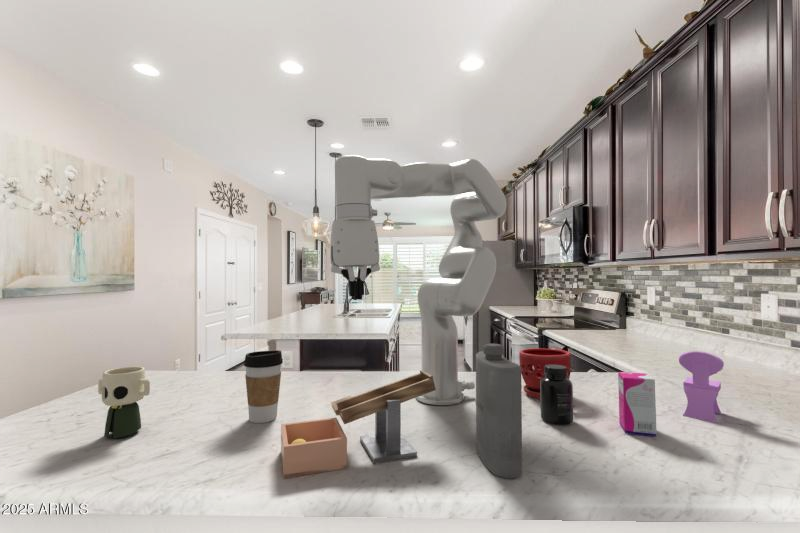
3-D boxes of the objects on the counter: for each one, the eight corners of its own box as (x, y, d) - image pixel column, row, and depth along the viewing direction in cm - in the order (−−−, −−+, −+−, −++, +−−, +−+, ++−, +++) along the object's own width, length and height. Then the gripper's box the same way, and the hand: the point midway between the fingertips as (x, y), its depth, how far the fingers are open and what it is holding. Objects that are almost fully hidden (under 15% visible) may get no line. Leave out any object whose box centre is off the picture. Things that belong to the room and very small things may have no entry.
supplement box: (648, 426, 84) (648, 372, 84) (657, 437, 78) (656, 379, 79) (618, 423, 86) (617, 370, 86) (624, 433, 80) (623, 377, 80)
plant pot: (574, 393, 108) (574, 349, 108) (566, 406, 97) (565, 357, 97) (526, 386, 115) (526, 345, 115) (513, 397, 104) (513, 352, 104)
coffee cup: (270, 426, 84) (270, 356, 84) (235, 423, 86) (235, 354, 86) (289, 413, 92) (289, 349, 92) (256, 410, 94) (257, 347, 94)
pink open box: (336, 443, 75) (336, 417, 75) (346, 468, 66) (346, 438, 66) (280, 451, 72) (281, 424, 72) (283, 478, 62) (283, 446, 62)
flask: (470, 440, 77) (469, 338, 77) (499, 439, 77) (499, 338, 78) (489, 479, 62) (489, 353, 62) (526, 479, 62) (525, 352, 63)
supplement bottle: (573, 417, 89) (573, 364, 89) (573, 428, 83) (572, 371, 83) (541, 413, 92) (541, 362, 92) (538, 423, 86) (538, 368, 86)
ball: (302, 432, 70) (285, 442, 69) (304, 439, 67) (286, 450, 66) (310, 447, 70) (294, 457, 69) (312, 454, 67) (295, 466, 66)
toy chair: (726, 413, 92) (725, 349, 92) (723, 424, 85) (722, 355, 86) (683, 405, 98) (682, 345, 98) (677, 414, 91) (676, 350, 91)
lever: (416, 378, 84) (413, 364, 84) (436, 390, 74) (432, 375, 74) (332, 408, 78) (328, 393, 77) (342, 426, 68) (337, 410, 68)
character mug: (82, 440, 77) (84, 374, 77) (112, 426, 84) (113, 365, 84) (135, 442, 76) (136, 375, 76) (160, 428, 83) (161, 366, 83)
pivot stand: (398, 435, 79) (398, 385, 80) (416, 456, 70) (416, 400, 70) (360, 440, 77) (360, 389, 77) (373, 463, 67) (373, 405, 68)
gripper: (381, 217, 91) (383, 296, 91) (316, 216, 86) (319, 300, 86) (392, 213, 84) (395, 298, 84) (322, 211, 79) (325, 303, 79)
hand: (356, 299), depth 85 cm, fingers closed
